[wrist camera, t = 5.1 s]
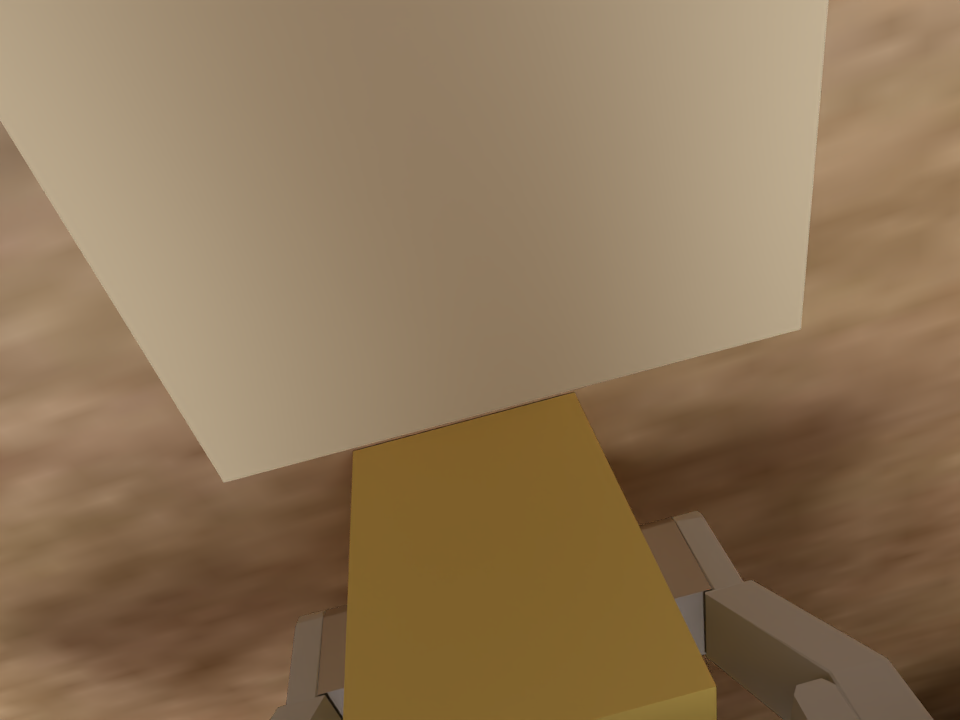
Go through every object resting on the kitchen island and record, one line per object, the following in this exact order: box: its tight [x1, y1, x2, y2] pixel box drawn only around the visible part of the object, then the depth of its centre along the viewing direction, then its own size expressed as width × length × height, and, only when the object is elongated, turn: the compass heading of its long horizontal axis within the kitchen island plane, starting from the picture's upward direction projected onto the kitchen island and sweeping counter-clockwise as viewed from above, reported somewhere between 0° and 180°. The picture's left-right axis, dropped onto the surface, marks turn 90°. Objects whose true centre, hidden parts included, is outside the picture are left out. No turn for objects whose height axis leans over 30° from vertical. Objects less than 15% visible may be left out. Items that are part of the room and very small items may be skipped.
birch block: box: [0, 0, 829, 483], centre depth 6 cm, size 4×4×6 cm
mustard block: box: [343, 392, 717, 720], centre depth 11 cm, size 4×4×6 cm
